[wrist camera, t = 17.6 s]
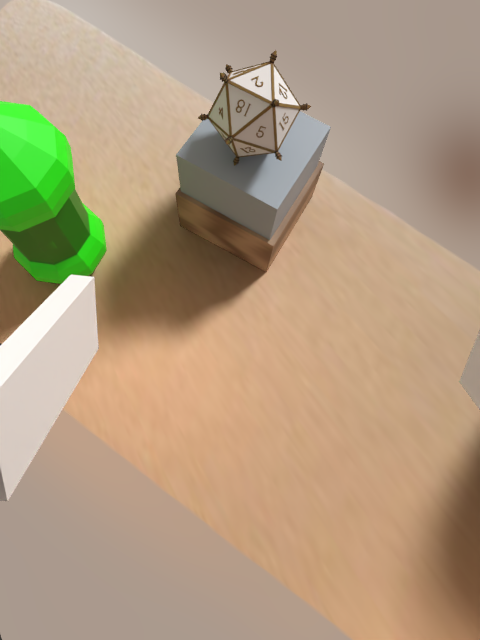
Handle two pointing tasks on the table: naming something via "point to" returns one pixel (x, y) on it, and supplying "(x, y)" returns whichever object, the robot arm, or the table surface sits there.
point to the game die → (254, 110)
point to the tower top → (251, 174)
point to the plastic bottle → (44, 199)
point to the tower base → (239, 236)
